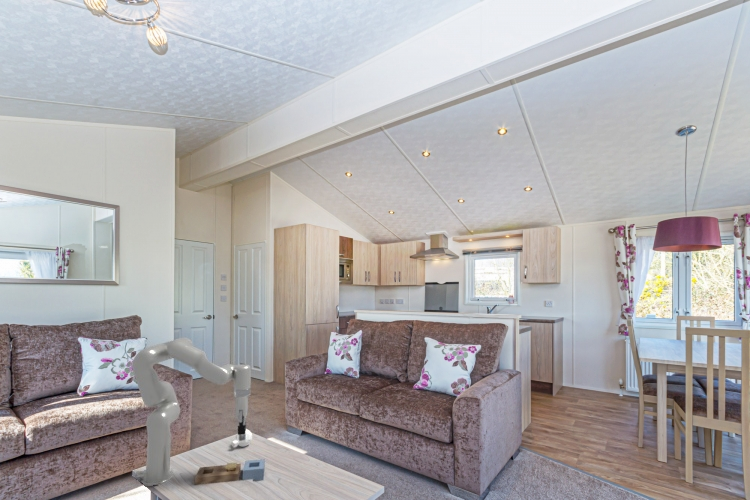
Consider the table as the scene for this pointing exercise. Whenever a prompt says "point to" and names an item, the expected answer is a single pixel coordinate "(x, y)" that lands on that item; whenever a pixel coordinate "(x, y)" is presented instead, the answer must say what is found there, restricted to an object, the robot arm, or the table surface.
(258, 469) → the blue square hole block
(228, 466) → the key
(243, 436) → the steel peg
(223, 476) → the socket block
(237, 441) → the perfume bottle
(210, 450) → the table surface
